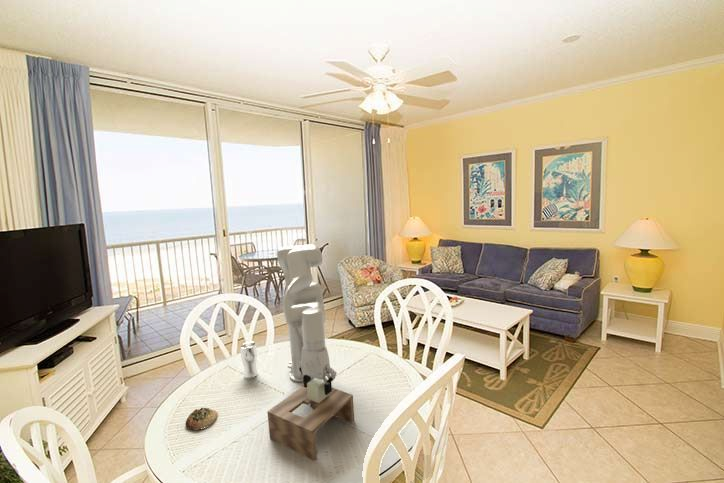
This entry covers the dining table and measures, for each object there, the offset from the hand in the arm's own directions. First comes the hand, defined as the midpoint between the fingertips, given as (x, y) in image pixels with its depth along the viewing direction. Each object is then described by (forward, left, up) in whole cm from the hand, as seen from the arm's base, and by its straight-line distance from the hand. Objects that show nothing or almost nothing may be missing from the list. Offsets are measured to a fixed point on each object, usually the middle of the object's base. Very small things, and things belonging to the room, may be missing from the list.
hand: (317, 389), depth 122 cm
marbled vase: (-51, +10, -13) cm, 54 cm away
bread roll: (-40, -21, -14) cm, 47 cm away
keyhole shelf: (0, -4, -13) cm, 14 cm away
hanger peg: (0, 0, -10) cm, 10 cm away
